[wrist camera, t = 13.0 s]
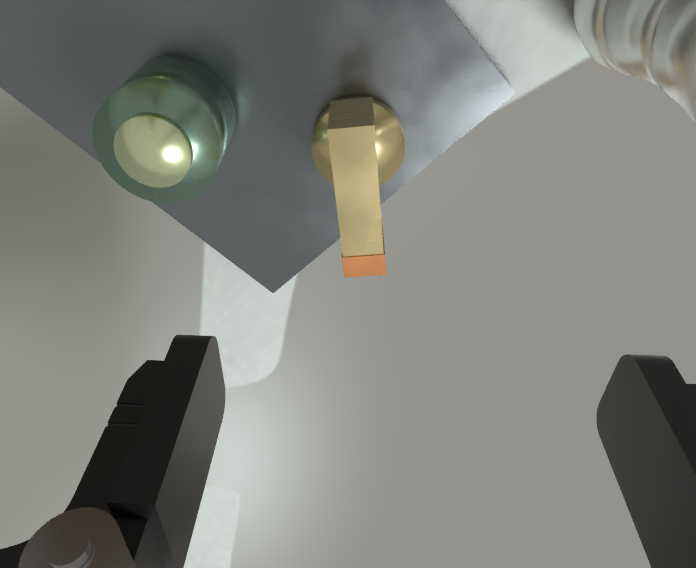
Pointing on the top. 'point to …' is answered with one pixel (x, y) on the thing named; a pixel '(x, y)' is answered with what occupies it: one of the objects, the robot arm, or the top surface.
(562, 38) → the top surface
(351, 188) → the knob
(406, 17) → the base plate
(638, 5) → the plastic bottle
